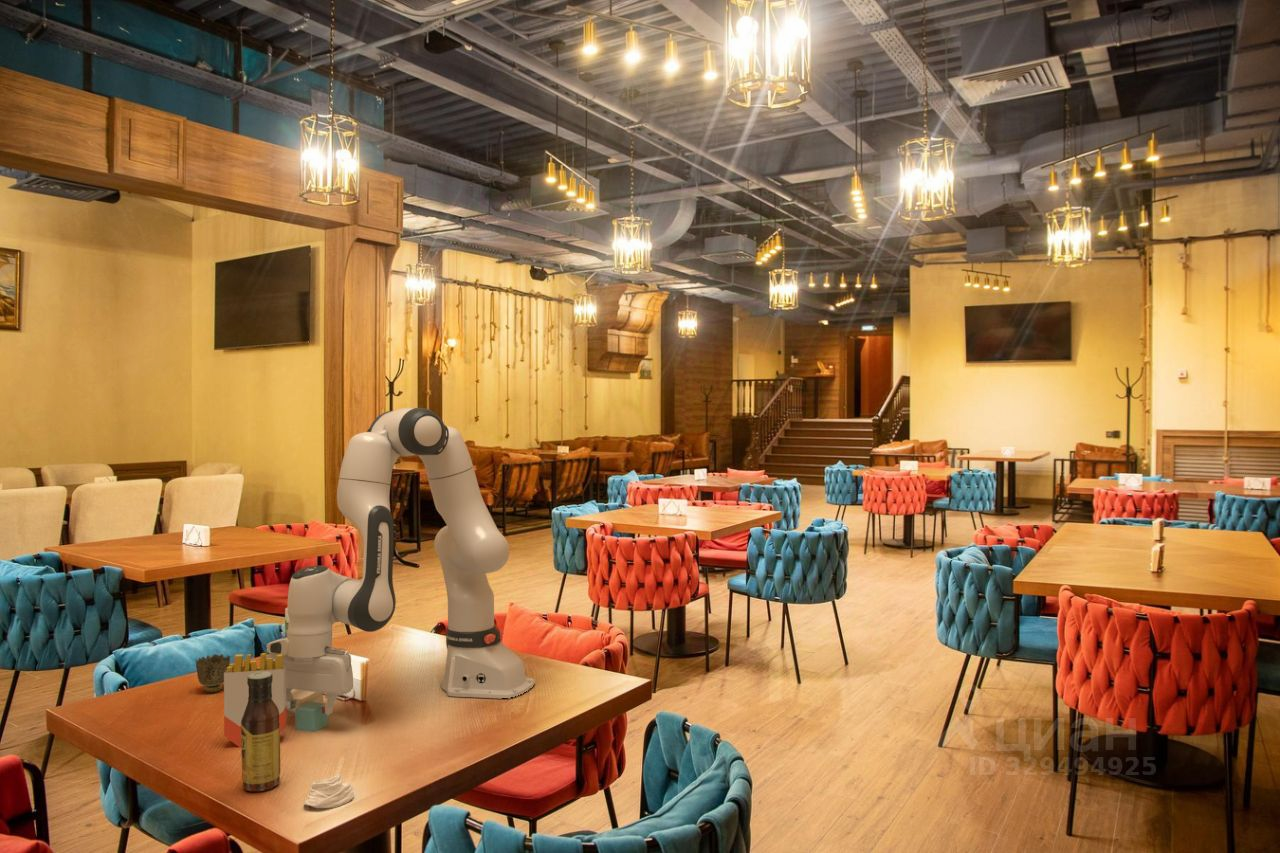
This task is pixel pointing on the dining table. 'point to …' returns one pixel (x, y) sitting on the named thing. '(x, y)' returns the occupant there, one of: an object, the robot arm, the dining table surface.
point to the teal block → (310, 717)
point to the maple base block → (304, 699)
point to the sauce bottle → (260, 736)
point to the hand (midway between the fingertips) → (308, 711)
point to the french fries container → (239, 692)
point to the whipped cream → (329, 793)
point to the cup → (212, 671)
